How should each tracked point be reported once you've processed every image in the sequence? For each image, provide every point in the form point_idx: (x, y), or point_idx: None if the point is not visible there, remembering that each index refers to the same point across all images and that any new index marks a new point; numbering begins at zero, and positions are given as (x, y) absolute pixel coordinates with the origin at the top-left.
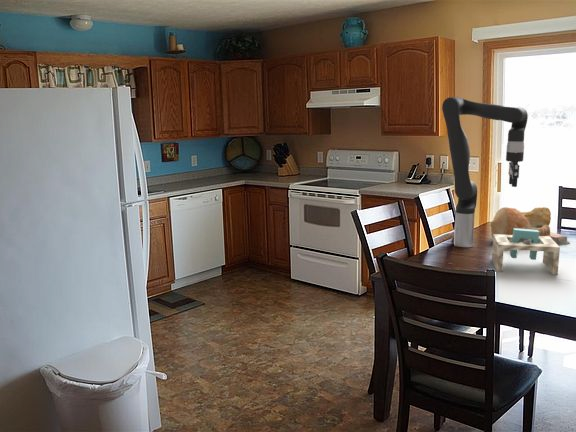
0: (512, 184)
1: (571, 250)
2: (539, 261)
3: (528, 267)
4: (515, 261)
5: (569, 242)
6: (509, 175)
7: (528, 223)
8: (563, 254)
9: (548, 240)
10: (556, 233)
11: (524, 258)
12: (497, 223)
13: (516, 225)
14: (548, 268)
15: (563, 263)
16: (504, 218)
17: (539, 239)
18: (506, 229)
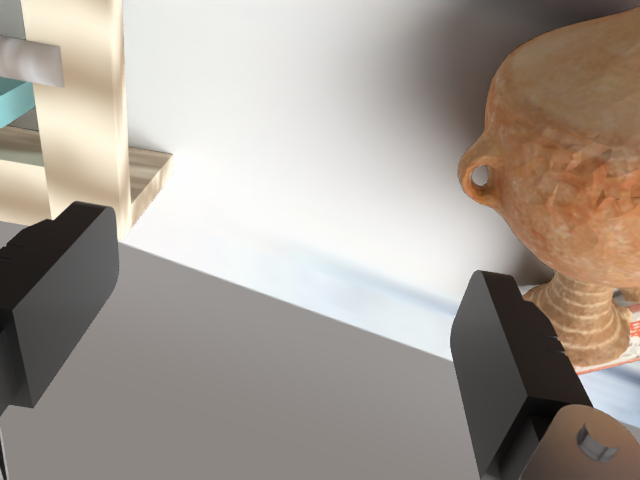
0: (57, 227)
1: (389, 338)
2: (179, 142)
3: None
4: (155, 12)
5: None
6: (552, 421)
7: (552, 267)
8: (320, 286)
9: (3, 196)
10: (579, 373)
11: (228, 86)
12: (615, 43)
13: (496, 168)
14: (39, 133)
15: (164, 231)
16: (589, 105)
17: (48, 163)
18: (502, 86)
